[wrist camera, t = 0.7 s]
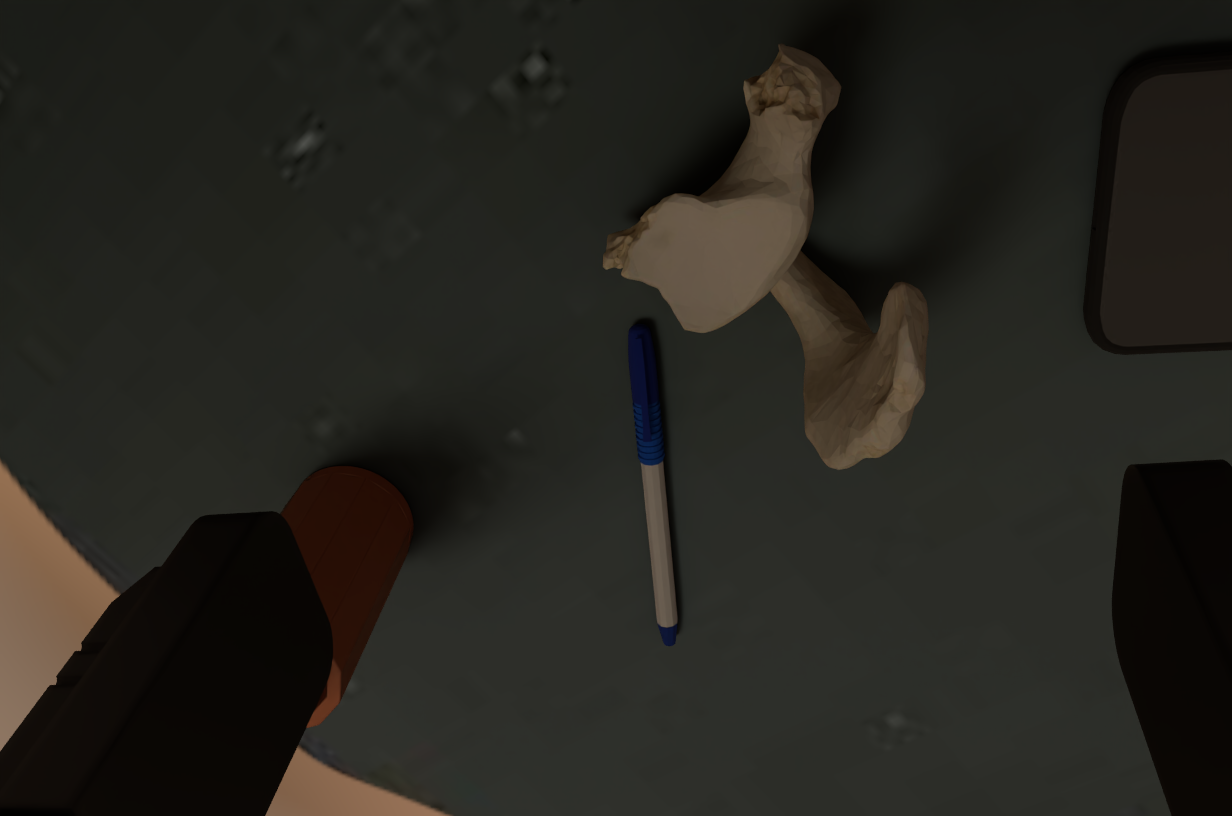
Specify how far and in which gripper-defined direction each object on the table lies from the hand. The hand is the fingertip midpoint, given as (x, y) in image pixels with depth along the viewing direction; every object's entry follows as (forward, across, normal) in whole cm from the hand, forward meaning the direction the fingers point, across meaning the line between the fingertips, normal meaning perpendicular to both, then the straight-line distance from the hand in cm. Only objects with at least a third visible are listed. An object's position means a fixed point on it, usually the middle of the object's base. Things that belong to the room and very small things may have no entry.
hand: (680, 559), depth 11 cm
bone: (+18, 0, +4) cm, 18 cm away
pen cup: (+16, +13, +12) cm, 24 cm away
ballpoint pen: (+17, +4, +12) cm, 21 cm away
